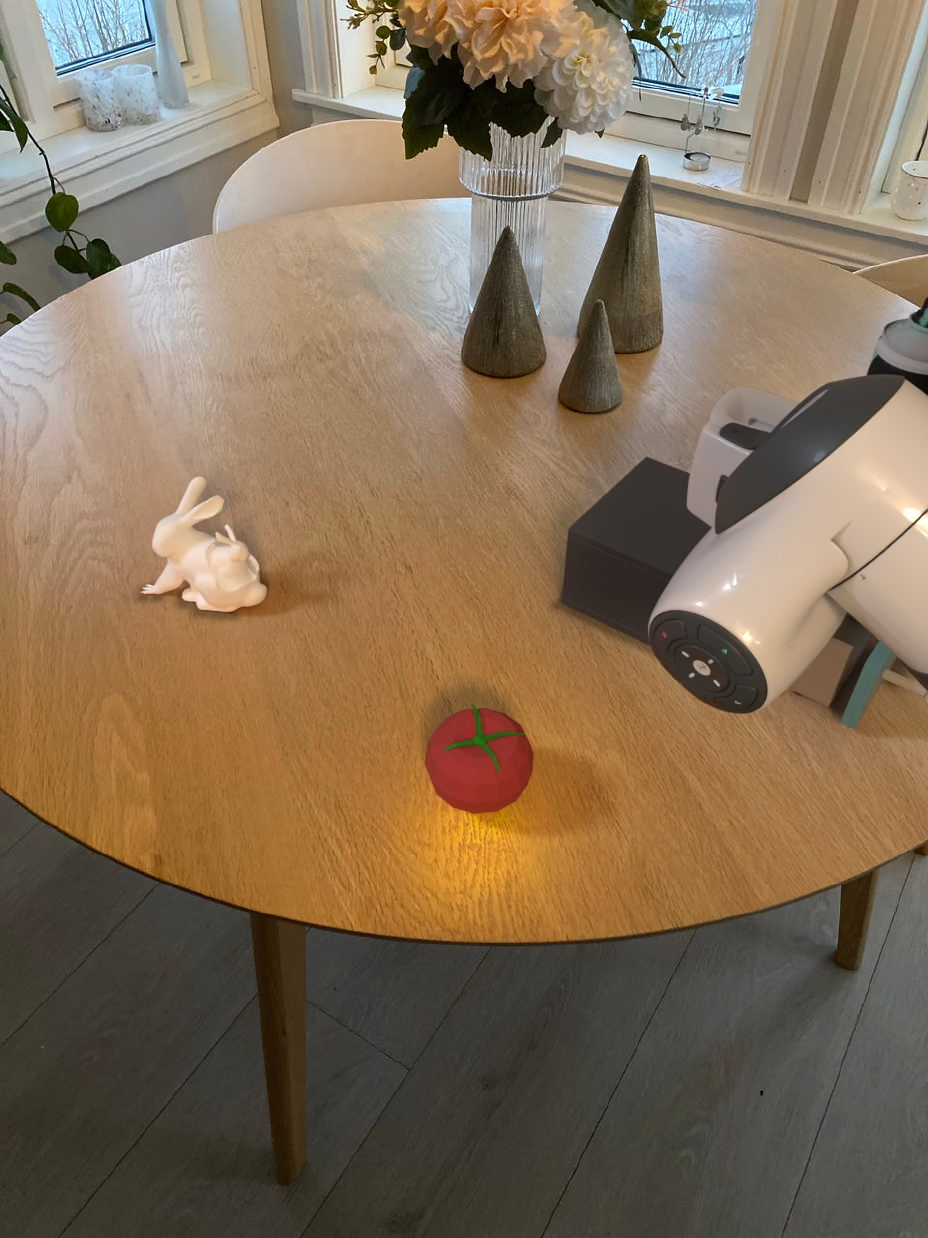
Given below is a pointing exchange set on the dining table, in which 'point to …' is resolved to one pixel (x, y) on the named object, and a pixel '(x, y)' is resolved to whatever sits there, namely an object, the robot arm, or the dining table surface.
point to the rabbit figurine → (205, 558)
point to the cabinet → (630, 547)
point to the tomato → (479, 760)
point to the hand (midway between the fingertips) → (896, 420)
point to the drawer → (837, 664)
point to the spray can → (904, 349)
